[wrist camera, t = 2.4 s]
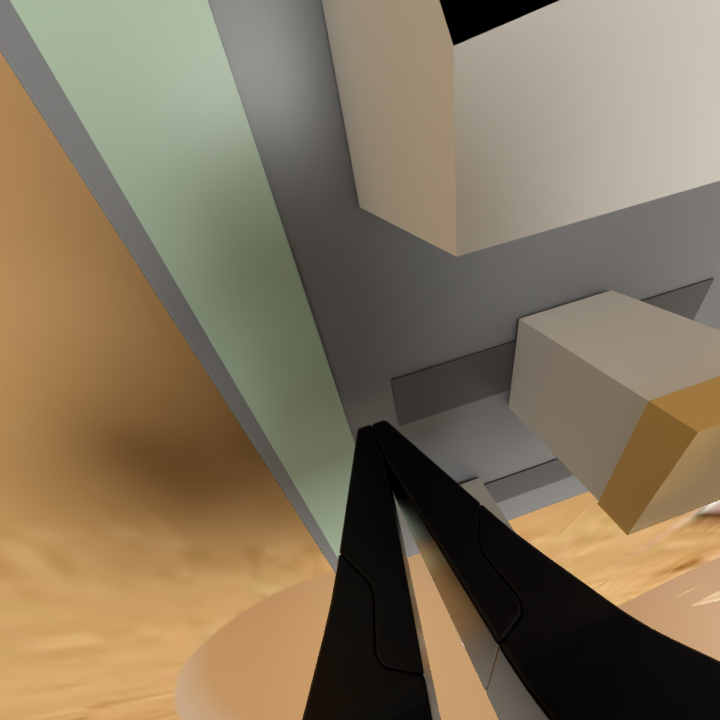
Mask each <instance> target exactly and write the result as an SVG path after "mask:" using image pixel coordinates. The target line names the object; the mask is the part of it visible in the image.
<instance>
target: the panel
mask: <svg viewBox="0 0 720 720" xmlns="http://www.w3.org/2000/svg"><path fill="white" fill-rule="evenodd" d="M0 52H1V53H2V55H3V56H4V58H5V59H6V61H7V63H8V64H9V66H10V67H11V69H12V70H13V72H14V74H15V75H16V77H17V78H18V80H19V81H20V83H21V84H22V86H23V88H24V89H25V91H26V92H27V94H28V95H29V97H30V98H31V100H32V102H33V103H34V105H35V106H36V108H37V109H38V111H39V112H40V114H41V116H42V117H43V119H44V120H45V122H46V123H47V125H48V126H49V128H50V130H51V131H52V133H53V134H54V136H55V137H56V139H57V140H58V142H59V144H60V145H61V147H62V148H63V150H64V151H65V153H66V154H67V156H68V158H69V159H70V161H71V162H72V164H73V165H74V167H75V168H76V170H77V172H78V173H79V175H80V176H81V178H82V179H83V181H84V182H85V184H86V186H87V187H88V189H89V190H90V192H91V193H92V195H93V196H94V198H95V200H96V201H97V203H98V204H99V206H100V207H101V209H102V210H103V212H104V214H105V215H106V217H107V218H108V220H109V221H110V223H111V224H112V226H113V228H114V229H115V231H116V232H117V234H118V235H119V237H120V238H121V240H122V242H123V243H124V245H125V246H126V248H127V249H128V251H129V252H130V254H131V256H132V257H133V259H134V260H135V262H136V263H137V265H138V266H139V268H140V270H141V271H142V273H143V274H144V276H145V277H146V279H147V280H148V282H149V284H150V285H151V287H152V288H153V290H154V291H155V293H156V294H157V296H158V298H159V299H160V301H161V302H162V304H163V305H164V307H165V309H166V310H167V312H168V313H169V315H170V316H171V318H172V319H173V321H174V323H175V324H176V326H177V327H178V329H179V330H180V332H181V333H182V335H183V337H184V338H185V340H186V341H187V343H188V344H189V346H190V347H191V349H192V351H193V352H194V354H195V355H196V357H197V358H198V360H199V361H200V363H201V365H202V366H203V368H204V369H205V371H206V372H207V374H208V375H209V377H210V379H211V380H212V382H213V383H214V385H215V386H216V388H217V389H218V391H219V393H220V394H221V396H222V397H223V399H224V400H225V402H226V403H227V405H228V407H229V408H230V410H231V411H232V413H233V414H234V416H235V417H236V419H237V421H238V422H239V424H240V425H241V427H242V428H243V430H244V431H245V433H246V435H247V436H248V438H249V439H250V441H251V442H252V444H253V445H254V447H255V449H256V450H257V452H258V453H259V455H260V456H261V458H262V459H263V461H264V463H265V464H266V466H267V467H268V469H269V470H270V472H271V473H272V475H273V477H274V478H275V480H276V481H277V483H278V484H279V486H280V487H281V489H282V491H283V492H284V494H285V495H286V497H287V498H288V500H289V501H290V503H291V505H292V506H293V508H294V509H295V511H296V512H297V514H298V515H299V517H300V519H301V520H302V522H303V523H304V525H305V526H306V528H307V529H308V531H309V533H310V534H311V536H312V537H313V539H314V540H315V542H316V544H317V545H318V547H319V548H320V550H321V551H322V553H323V554H324V556H325V558H326V559H327V561H328V562H329V564H330V565H331V567H332V568H333V570H334V572H335V573H336V570H337V564H338V557H339V555H341V554H340V552H339V551H340V544H341V538H342V531H343V524H344V517H345V510H346V504H347V497H348V490H349V483H350V476H351V470H352V463H353V456H354V449H355V442H356V436H357V430H358V429H359V428H361V427H364V426H367V425H371V426H372V425H373V424H374V423H376V422H379V421H382V420H386V421H387V422H389V423H390V424H391V425H392V426H393V427H394V428H395V429H397V430H398V431H399V432H400V433H401V434H402V435H403V436H405V437H406V438H407V439H408V440H409V441H410V442H411V443H413V444H414V445H415V446H416V447H417V448H418V449H419V450H421V451H422V452H423V453H424V454H425V455H426V456H427V457H429V458H430V459H431V460H432V461H433V462H434V463H435V464H436V465H438V466H439V467H440V468H441V469H442V470H443V471H444V472H446V473H447V474H448V475H449V476H450V477H451V478H452V479H454V480H455V481H456V482H457V483H458V484H459V485H460V484H463V483H466V482H469V481H472V480H475V479H478V478H480V479H481V481H482V483H483V484H484V486H485V487H486V489H487V490H488V492H489V493H490V495H491V496H492V498H493V499H494V501H495V503H496V504H497V506H498V507H499V509H500V510H501V512H502V513H503V515H504V516H505V518H506V520H507V521H508V520H511V519H514V518H517V517H519V516H522V515H525V514H528V513H530V512H533V511H536V510H538V509H541V508H544V507H547V506H549V505H552V504H555V503H558V502H560V501H563V500H566V499H569V498H571V497H574V496H577V495H580V494H582V493H585V492H588V491H589V490H588V489H587V488H586V487H585V486H584V485H583V484H582V483H581V482H580V481H579V480H578V479H577V478H576V477H575V476H574V475H573V474H572V473H571V471H570V470H569V469H568V468H567V467H566V466H565V465H564V464H563V463H562V462H561V461H560V460H559V459H558V458H557V457H556V456H555V455H554V454H553V453H552V452H551V451H550V450H549V449H548V447H547V446H546V445H545V444H544V443H543V442H542V441H541V440H540V439H539V438H538V437H537V436H536V435H535V434H534V433H533V432H532V431H531V430H530V429H529V428H528V427H527V426H526V425H525V423H524V422H523V421H522V420H521V419H520V418H519V417H518V416H517V415H516V414H515V413H514V412H513V411H512V410H511V409H510V408H509V399H510V390H511V382H512V374H513V366H514V358H515V349H516V341H517V333H518V325H519V319H520V318H524V317H527V316H530V315H533V314H536V313H540V312H543V311H546V310H549V309H553V308H556V307H559V306H562V305H565V304H569V303H572V302H575V301H578V300H582V299H585V298H588V297H591V296H594V295H598V294H601V293H604V292H607V291H610V290H613V291H616V292H618V293H621V294H624V295H626V296H629V297H632V298H634V299H637V300H640V301H642V302H645V303H648V304H650V305H653V306H656V307H658V308H661V309H664V310H667V311H669V312H672V313H675V314H677V315H680V316H683V317H685V318H688V319H691V320H693V321H696V322H699V323H701V324H704V325H707V326H709V327H712V328H715V329H717V330H720V181H717V182H714V183H710V184H707V185H703V186H700V187H696V188H693V189H690V190H686V191H683V192H679V193H676V194H672V195H669V196H665V197H662V198H658V199H655V200H651V201H648V202H645V203H641V204H638V205H634V206H631V207H627V208H624V209H620V210H617V211H613V212H610V213H606V214H603V215H600V216H596V217H593V218H589V219H586V220H582V221H579V222H575V223H572V224H568V225H565V226H562V227H558V228H555V229H551V230H548V231H544V232H541V233H537V234H534V235H530V236H527V237H523V238H520V239H517V240H513V241H510V242H506V243H503V244H499V245H496V246H492V247H489V248H485V249H482V250H478V251H475V252H472V253H468V254H465V255H461V256H458V257H456V256H454V255H452V254H450V253H448V252H446V251H444V250H442V249H440V248H438V247H436V246H434V245H432V244H431V243H429V242H427V241H425V240H423V239H421V238H419V237H417V236H415V235H413V234H411V233H409V232H407V231H405V230H403V229H401V228H399V227H397V226H395V225H393V224H391V223H390V222H388V221H386V220H384V219H382V218H380V217H378V216H376V215H374V214H372V213H370V212H368V211H366V210H364V209H362V208H360V206H359V201H358V195H357V190H356V184H355V179H354V173H353V168H352V163H351V157H350V152H349V146H348V141H347V135H346V130H345V125H344V119H343V114H342V108H341V103H340V98H339V92H338V87H337V81H336V76H335V70H334V65H333V60H332V54H331V49H330V43H329V38H328V32H327V27H326V22H325V16H324V11H323V5H322V0H0ZM393 495H394V494H393ZM394 499H395V497H394ZM395 503H396V507H397V512H398V516H399V521H400V526H401V531H402V536H403V540H404V545H405V550H406V555H407V557H409V556H413V555H415V554H418V553H420V551H419V549H418V547H417V545H416V542H415V540H414V538H413V536H412V534H411V532H410V530H409V528H408V525H407V523H406V521H405V519H404V517H403V515H402V513H401V511H400V508H399V506H398V504H397V502H396V499H395Z"/></svg>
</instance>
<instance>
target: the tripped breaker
mask: <svg viewBox="0 0 720 720" xmlns="http://www.w3.org/2000/svg"><path fill="white" fill-rule="evenodd" d="M509 408H510V409H511V410H512V411H513V412H514V413H515V414H516V415H517V416H518V417H519V418H520V419H521V420H522V421H523V422H524V423H525V425H526V426H527V427H528V428H529V429H530V430H531V431H532V432H533V433H534V434H535V435H536V436H537V437H538V438H539V439H540V440H541V441H542V442H543V443H544V444H545V445H546V446H547V447H548V449H549V450H550V451H551V452H552V453H553V454H554V455H555V456H556V457H557V458H558V459H559V460H560V461H561V462H562V463H563V464H564V465H565V466H566V467H567V468H568V469H569V470H570V471H571V473H572V474H573V475H574V476H575V477H576V478H577V479H578V480H579V481H580V482H581V483H582V484H583V485H584V486H585V487H586V488H587V489H588V490H589V491H590V492H591V493H592V494H593V495H594V497H595V498H596V499H597V500H598V501H599V502H598V505H599V506H600V507H601V508H602V509H603V510H604V511H605V512H606V513H607V514H608V515H609V516H610V517H611V518H612V519H613V521H614V522H615V523H616V524H617V525H618V526H619V527H620V528H621V529H622V530H623V531H624V532H625V533H626V534H627V535H629V534H632V533H634V532H637V531H640V530H642V529H645V528H647V527H650V526H653V525H655V524H658V523H661V522H663V521H666V520H668V519H671V518H674V517H676V516H679V515H681V514H684V513H687V512H689V511H692V510H695V509H697V508H700V507H702V506H705V505H708V504H710V503H713V502H716V501H718V500H720V330H717V329H715V328H712V327H709V326H707V325H704V324H701V323H699V322H696V321H693V320H691V319H688V318H685V317H683V316H680V315H677V314H675V313H672V312H669V311H667V310H664V309H661V308H658V307H656V306H653V305H650V304H648V303H645V302H642V301H640V300H637V299H634V298H632V297H629V296H626V295H624V294H621V293H618V292H616V291H613V290H610V291H607V292H604V293H601V294H598V295H594V296H591V297H588V298H585V299H582V300H578V301H575V302H572V303H569V304H565V305H562V306H559V307H556V308H553V309H549V310H546V311H543V312H540V313H536V314H533V315H530V316H527V317H524V318H520V319H519V325H518V333H517V341H516V349H515V358H514V366H513V374H512V382H511V390H510V399H509Z"/></svg>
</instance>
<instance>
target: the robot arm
mask: <svg viewBox="0 0 720 720" xmlns="http://www.w3.org/2000/svg"><path fill="white" fill-rule="evenodd" d="M393 494H394V495H393ZM394 497H395V499H396V502H397V504H398V506H399V508H400V511H401V513H402V515H403V517H404V519H405V521H406V523H407V525H408V528H409V530H410V532H411V534H412V536H413V538H414V540H415V542H416V545H417V547H418V549H419V551H420V553H421V555H422V557H423V559H424V561H425V563H426V566H427V568H428V570H429V572H430V574H431V576H432V579H433V581H434V582H435V585H436V587H437V589H438V591H439V593H440V595H441V598H442V600H443V602H444V604H445V606H446V608H447V610H448V613H449V614H450V617H451V619H452V621H453V623H454V625H455V627H456V630H457V632H458V634H459V636H460V638H461V640H462V642H463V644H464V646H465V649H466V651H467V653H468V655H469V657H470V659H471V661H472V663H473V665H474V668H475V670H476V672H477V674H478V676H479V678H480V680H481V682H482V685H483V687H484V689H485V690H486V691H487V695H488V697H489V700H490V702H491V704H492V706H493V708H494V710H495V712H496V714H497V717H498V719H499V720H720V661H718V660H716V659H714V658H712V657H709V656H707V655H705V654H703V653H701V652H699V651H697V650H695V649H692V648H690V647H688V646H686V645H684V644H682V643H680V642H678V641H675V640H673V639H671V638H669V637H667V636H665V635H663V634H661V633H659V632H658V631H656V630H654V629H651V628H650V627H648V626H647V625H645V624H643V623H642V622H640V621H638V620H637V619H635V618H633V617H632V616H630V615H629V614H627V613H626V612H624V611H623V610H621V609H619V608H618V607H617V606H615V605H614V604H612V603H611V602H610V601H608V600H607V599H605V598H604V597H603V596H601V595H600V594H598V593H597V592H596V591H594V590H593V589H591V588H590V587H589V586H587V585H586V584H585V583H583V582H582V581H580V580H579V579H578V578H576V577H575V576H573V575H572V574H571V573H569V572H568V571H566V570H565V569H564V568H562V567H561V566H559V565H558V564H557V563H555V562H554V561H553V560H551V559H550V558H548V557H547V556H546V555H544V554H543V553H542V552H540V551H539V550H538V549H536V548H535V547H534V546H532V545H531V544H530V543H528V542H527V541H526V540H524V539H523V538H522V537H520V536H519V535H518V534H516V533H515V532H514V531H513V530H512V529H510V528H509V527H508V526H507V525H506V524H504V523H503V522H502V521H501V520H500V519H498V518H497V517H496V516H495V515H494V514H493V513H491V512H490V511H489V510H488V509H487V508H486V507H485V506H483V505H480V502H479V501H478V500H476V499H475V498H474V497H473V496H472V495H471V494H470V493H468V492H467V491H466V490H465V489H464V488H463V487H462V486H460V485H459V484H458V483H457V482H456V481H455V480H454V479H452V478H451V477H450V476H449V475H448V474H447V473H446V472H444V471H443V470H442V469H441V468H440V467H439V466H438V465H436V464H435V463H434V462H433V461H432V460H431V459H430V458H429V457H427V456H426V455H425V454H424V453H423V452H422V451H421V450H419V449H418V448H417V447H416V446H415V445H414V444H413V443H411V442H410V441H409V440H408V439H407V438H406V437H405V436H403V435H402V434H401V433H400V432H399V431H398V430H397V429H395V428H394V427H393V426H392V425H391V424H390V423H389V422H387V421H386V420H382V421H379V422H376V423H374V424H373V425H372V426H371V425H367V426H364V427H361V428H359V429H358V430H357V436H356V442H355V449H354V456H353V463H352V470H351V476H350V483H349V490H348V497H347V504H346V510H345V517H344V524H343V531H342V538H341V544H340V551H339V552H340V554H341V555H339V557H338V564H337V570H336V577H335V582H334V588H333V594H332V600H331V605H330V609H329V614H328V618H327V622H326V627H325V631H324V636H323V640H322V644H321V648H320V652H319V656H318V660H317V663H316V668H315V672H314V676H313V680H312V683H311V687H310V692H309V696H308V699H307V704H306V707H305V711H304V715H303V719H302V720H441V718H440V713H439V711H438V704H437V699H436V694H435V689H434V685H433V680H432V675H431V670H430V665H429V661H428V656H427V651H426V646H425V641H424V636H423V632H422V627H421V622H420V617H419V612H418V608H417V603H416V598H415V593H414V588H413V584H412V579H411V574H410V569H409V564H408V560H407V555H406V550H405V545H404V540H403V536H402V531H401V526H400V521H399V516H398V512H397V507H396V503H395V499H394Z"/></svg>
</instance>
